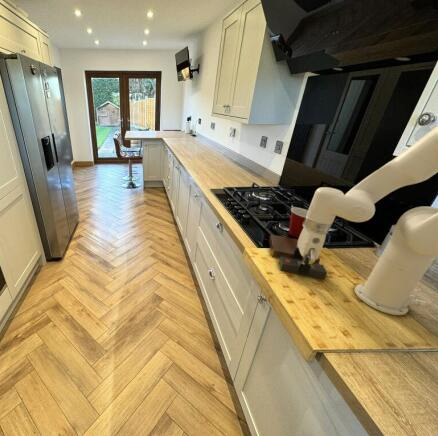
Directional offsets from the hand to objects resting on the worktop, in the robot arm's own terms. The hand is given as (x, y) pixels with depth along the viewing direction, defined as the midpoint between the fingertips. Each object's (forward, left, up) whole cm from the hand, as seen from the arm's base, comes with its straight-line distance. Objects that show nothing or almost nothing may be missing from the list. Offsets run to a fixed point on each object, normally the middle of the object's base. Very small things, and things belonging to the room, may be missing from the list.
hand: (299, 265), depth 86 cm
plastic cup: (-5, -31, -2) cm, 31 cm away
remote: (-1, 0, -2) cm, 2 cm away
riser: (0, -13, -2) cm, 13 cm away
